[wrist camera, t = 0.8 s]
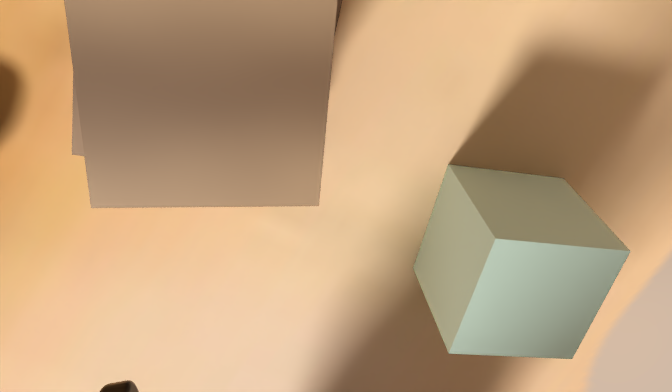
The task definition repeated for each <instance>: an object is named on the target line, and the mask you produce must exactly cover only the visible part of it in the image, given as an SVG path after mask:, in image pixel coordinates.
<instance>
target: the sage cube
mask: <svg viewBox="0 0 672 392" xmlns="http://www.w3.org/2000/svg"><path fill="white" fill-rule="evenodd" d="M629 253H630V250H629V249H628V248H627V247H626V246H625V245H624V244H623V242H622V241H621V240H620V239H619V238H618V237H617V236H616V235H615V234H614V233H613V232H612V231H611V229H610V228H609V227H608V226H607V225H606V224H605V223H604V222H603V221H602V220H601V219H600V218H599V216H598V215H597V214H596V213H595V212H594V211H593V210H592V209H591V208H590V207H589V206H588V204H587V203H586V202H585V201H584V200H583V199H582V198H581V197H580V196H579V195H578V194H577V193H576V191H575V190H574V189H573V188H572V187H571V186H570V185H569V184H568V183H567V182H566V181H565V180H564V178H557V177H549V176H541V175H532V174H524V173H516V172H508V171H500V170H491V169H483V168H475V167H467V166H459V165H450V164H448V166H447V169H446V172H445V175H444V178H443V181H442V184H441V187H440V190H439V193H438V196H437V199H436V202H435V205H434V208H433V210H432V213H431V216H430V219H429V222H428V225H427V228H426V231H425V234H424V237H423V240H422V243H421V246H420V249H419V252H418V255H417V258H416V260H415V263H414V266H413V269H414V272H415V274H416V277H417V279H418V281H419V284H420V286H421V289H422V291H423V293H424V296H425V298H426V301H427V303H428V305H429V308H430V310H431V313H432V315H433V317H434V320H435V322H436V325H437V327H438V329H439V332H440V334H441V336H442V339H443V341H444V344H445V346H446V348H447V351H448V353H449V354H470V355H492V356H515V357H538V358H561V359H572V358H573V356H574V355H575V353H576V351H577V349H578V347H579V345H580V343H581V342H582V340H583V338H584V336H585V334H586V332H587V331H588V329H589V327H590V325H591V323H592V321H593V320H594V318H595V316H596V314H597V312H598V310H599V308H600V307H601V305H602V303H603V301H604V299H605V297H606V296H607V294H608V292H609V290H610V288H611V286H612V284H613V283H614V281H615V279H616V277H617V275H618V273H619V272H620V270H621V268H622V266H623V264H624V262H625V261H626V259H627V257H628V255H629Z"/></svg>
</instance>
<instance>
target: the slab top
mask: <svg viewBox="0 0 672 392" xmlns="http://www.w3.org/2000/svg"><path fill="white" fill-rule="evenodd" d="M64 2H65V9H66V17H67V25H68V33H69V40H70V48H71V56H72V64H73V71H74V79H75V87H76V95H77V102H78V110H79V118H80V126H81V133H82V141H83V149H84V157H85V164H86V172H87V180H88V188H89V195H90V203H91V208H148V207H263V206H319V199H320V188H321V177H322V166H323V155H324V144H325V133H326V122H327V111H328V100H329V89H330V77H331V66H332V55H333V44H334V33H335V22H336V11H337V0H64Z"/></svg>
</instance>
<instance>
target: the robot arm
mask: <svg viewBox="0 0 672 392" xmlns="http://www.w3.org/2000/svg"><path fill="white" fill-rule="evenodd" d="M100 392H138V389H137V387H136V385H135V384H134V382H132V381H130V380H127V381H122V382H116V383H110V384H107V385H105V386H104V387H103V388H102V389H101V391H100Z"/></svg>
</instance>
